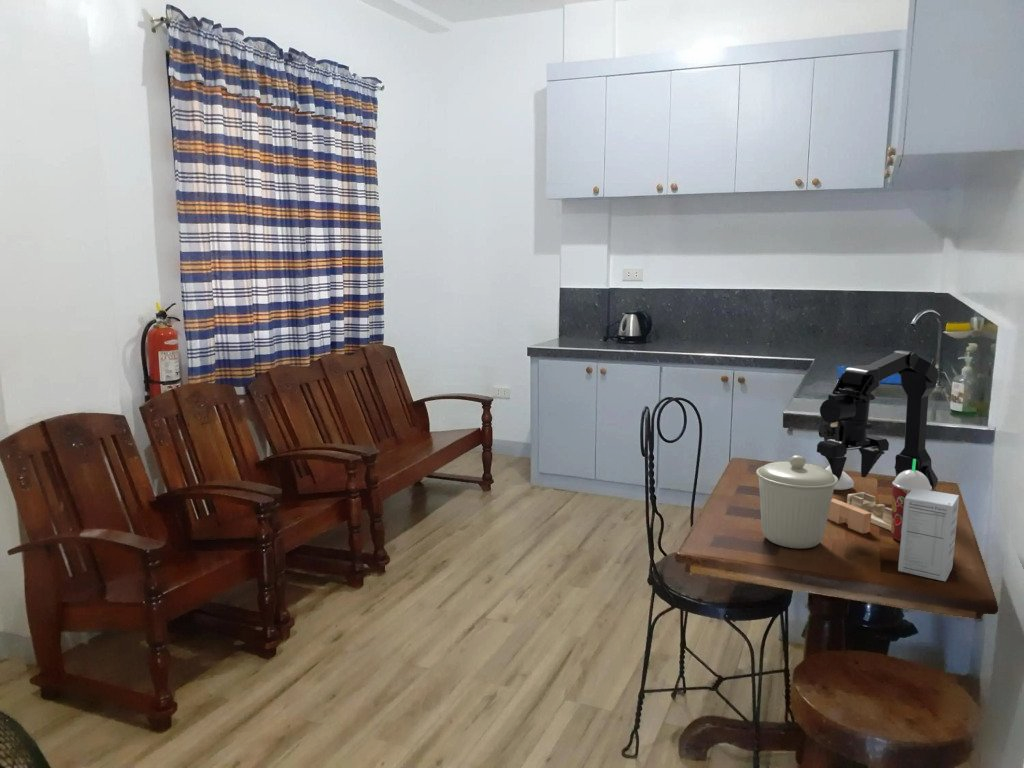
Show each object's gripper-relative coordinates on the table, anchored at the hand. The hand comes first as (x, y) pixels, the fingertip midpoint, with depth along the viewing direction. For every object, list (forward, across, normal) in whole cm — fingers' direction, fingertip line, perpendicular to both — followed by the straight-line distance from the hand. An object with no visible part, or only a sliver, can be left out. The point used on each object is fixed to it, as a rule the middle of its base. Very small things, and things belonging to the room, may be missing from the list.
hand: (850, 479), depth 189 cm
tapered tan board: (+12, 0, 0) cm, 12 cm away
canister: (+12, +21, +3) cm, 25 cm away
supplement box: (+12, +6, +27) cm, 30 cm away
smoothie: (+12, -6, +13) cm, 19 cm away
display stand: (+12, -11, 0) cm, 16 cm away
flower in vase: (+12, -21, -24) cm, 34 cm away
